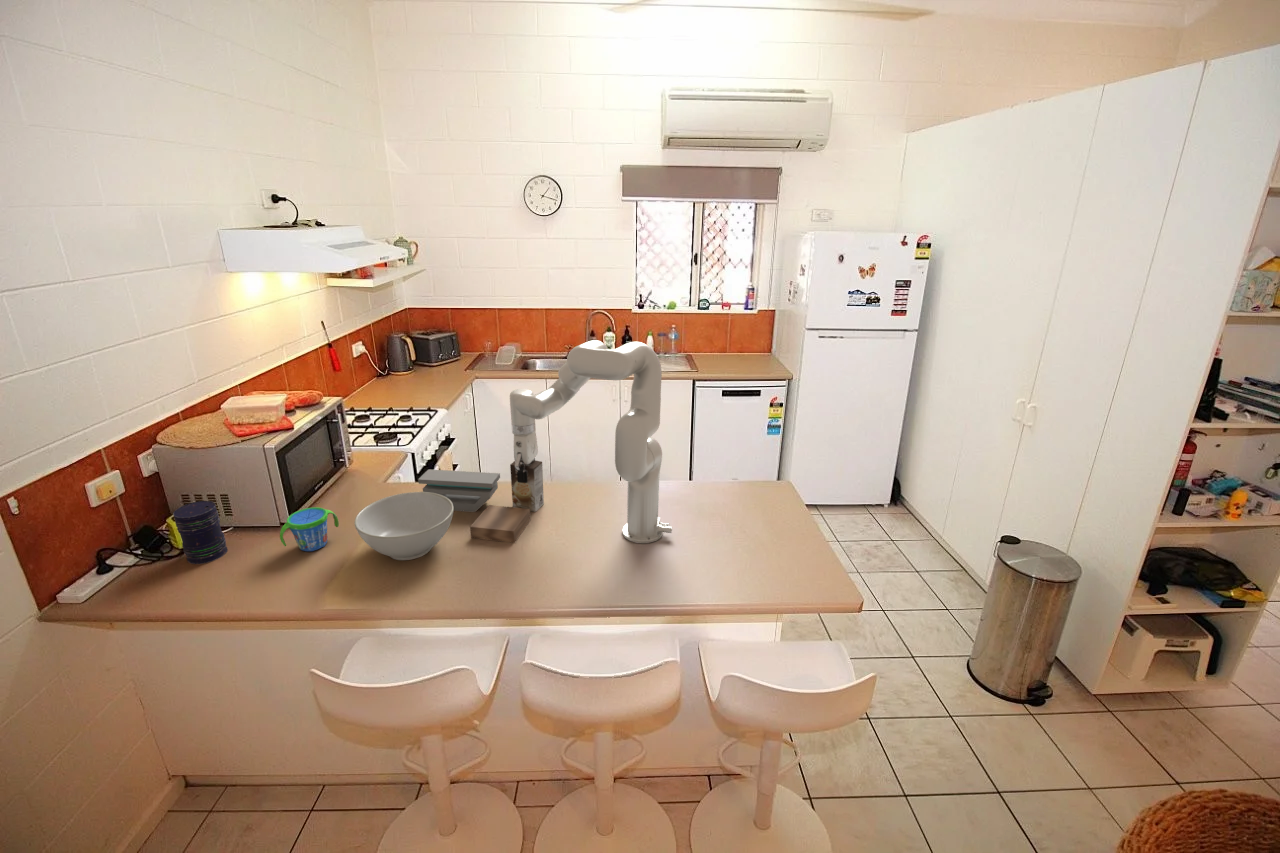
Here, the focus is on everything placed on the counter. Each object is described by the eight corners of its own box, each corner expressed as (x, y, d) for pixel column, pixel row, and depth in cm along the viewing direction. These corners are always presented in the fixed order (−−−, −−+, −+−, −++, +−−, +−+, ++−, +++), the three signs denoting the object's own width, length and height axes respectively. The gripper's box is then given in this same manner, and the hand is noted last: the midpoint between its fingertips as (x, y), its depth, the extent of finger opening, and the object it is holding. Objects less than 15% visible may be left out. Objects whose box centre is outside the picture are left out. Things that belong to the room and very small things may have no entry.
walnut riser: (530, 519, 192) (530, 509, 190) (514, 542, 179) (513, 531, 178) (489, 515, 194) (488, 504, 193) (471, 538, 181) (470, 526, 180)
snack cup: (288, 563, 168) (281, 531, 164) (279, 547, 175) (272, 517, 171) (346, 543, 178) (341, 513, 174) (336, 529, 185) (330, 500, 181)
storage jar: (183, 567, 165) (169, 520, 160) (189, 550, 173) (176, 505, 168) (226, 558, 169) (213, 512, 164) (230, 542, 178) (218, 497, 172)
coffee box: (511, 507, 199) (508, 464, 194) (521, 499, 205) (518, 456, 199) (536, 512, 197) (533, 468, 191) (545, 503, 202) (542, 460, 197)
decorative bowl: (339, 563, 168) (332, 526, 164) (405, 519, 191) (400, 485, 187) (416, 584, 159) (411, 545, 155) (475, 535, 183) (472, 500, 179)
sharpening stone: (502, 502, 203) (499, 473, 199) (494, 513, 196) (492, 483, 192) (432, 497, 205) (428, 469, 202) (422, 508, 198) (418, 479, 194)
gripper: (525, 438, 182) (528, 490, 188) (543, 419, 198) (545, 467, 204) (502, 436, 183) (506, 487, 190) (522, 417, 199) (525, 465, 206)
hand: (526, 476), depth 197 cm, fingers closed on coffee box, 7 cm apart
